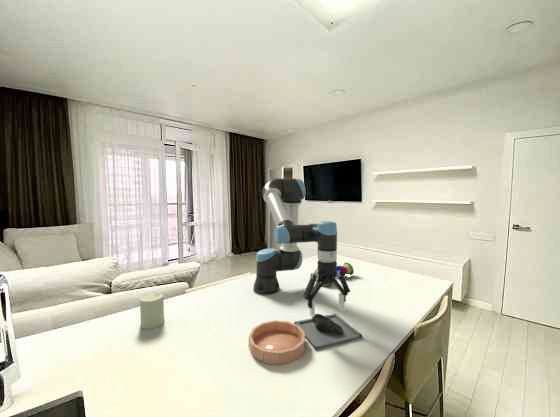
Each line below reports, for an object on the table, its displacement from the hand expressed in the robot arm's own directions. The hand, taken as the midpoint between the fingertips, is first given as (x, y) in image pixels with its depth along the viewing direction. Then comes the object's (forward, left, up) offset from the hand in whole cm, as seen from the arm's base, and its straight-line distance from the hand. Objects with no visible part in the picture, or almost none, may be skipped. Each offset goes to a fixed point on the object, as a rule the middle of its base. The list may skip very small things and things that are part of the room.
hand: (327, 312), depth 98 cm
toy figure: (-54, +45, -8) cm, 71 cm away
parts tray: (0, 0, -8) cm, 8 cm away
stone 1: (-47, +26, -8) cm, 55 cm away
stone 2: (0, 0, -8) cm, 7 cm away
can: (-32, -67, -8) cm, 75 cm away
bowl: (+2, -22, -8) cm, 23 cm away
